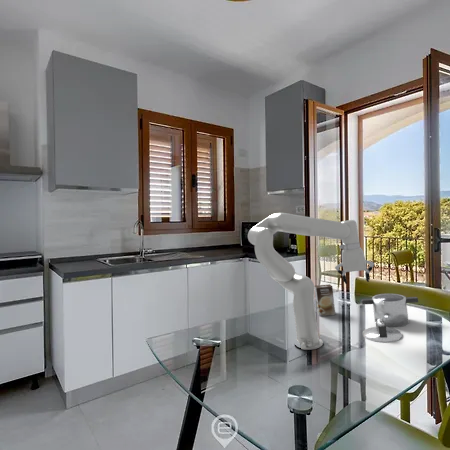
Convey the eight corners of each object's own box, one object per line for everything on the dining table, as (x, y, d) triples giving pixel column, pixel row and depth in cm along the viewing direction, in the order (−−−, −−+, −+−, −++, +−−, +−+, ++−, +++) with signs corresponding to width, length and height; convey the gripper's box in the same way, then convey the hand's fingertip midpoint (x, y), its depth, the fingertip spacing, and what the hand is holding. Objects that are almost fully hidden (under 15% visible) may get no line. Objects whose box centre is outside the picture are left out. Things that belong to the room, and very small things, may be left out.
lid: (405, 342, 137) (404, 328, 137) (365, 343, 142) (363, 329, 142) (397, 328, 152) (396, 315, 152) (361, 329, 157) (359, 316, 157)
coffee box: (319, 316, 182) (315, 288, 182) (317, 312, 188) (313, 285, 188) (335, 314, 181) (332, 286, 181) (333, 311, 187) (329, 283, 187)
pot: (415, 315, 165) (412, 292, 164) (424, 326, 150) (421, 300, 150) (362, 317, 172) (360, 294, 172) (366, 327, 158) (363, 303, 157)
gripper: (332, 250, 151) (338, 286, 151) (372, 245, 146) (378, 282, 147) (331, 247, 158) (336, 282, 159) (369, 243, 154) (374, 278, 154)
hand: (356, 282), depth 153 cm, fingers open, 9 cm apart
